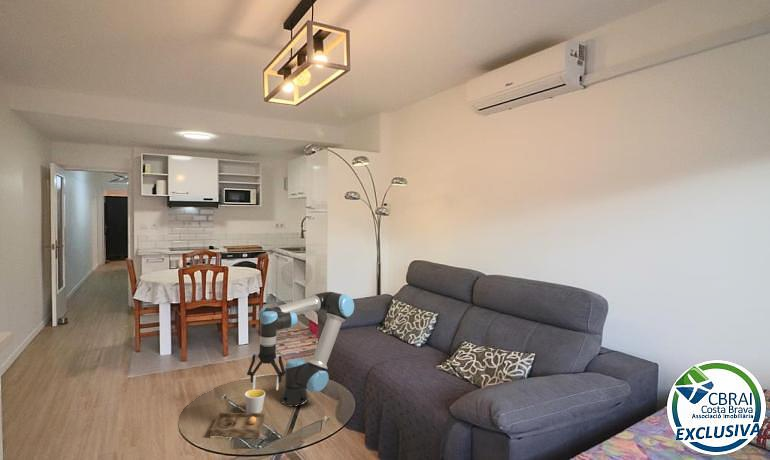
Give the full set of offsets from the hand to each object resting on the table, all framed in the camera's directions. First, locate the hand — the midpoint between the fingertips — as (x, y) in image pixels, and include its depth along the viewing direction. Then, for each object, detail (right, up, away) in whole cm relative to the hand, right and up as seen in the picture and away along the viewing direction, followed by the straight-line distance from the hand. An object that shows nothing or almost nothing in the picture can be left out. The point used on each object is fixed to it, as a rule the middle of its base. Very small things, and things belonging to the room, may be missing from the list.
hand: (265, 389), depth 204 cm
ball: (-6, -15, 0) cm, 17 cm away
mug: (-10, -19, +18) cm, 28 cm away
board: (-13, -19, -1) cm, 23 cm away
